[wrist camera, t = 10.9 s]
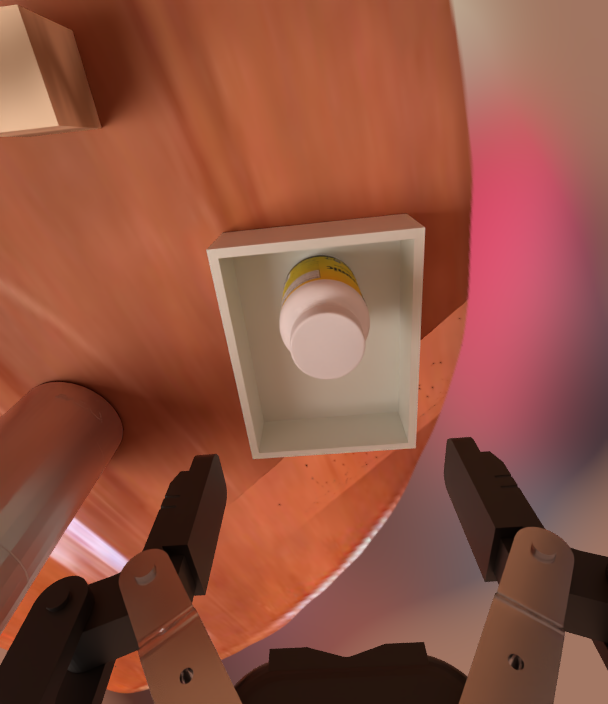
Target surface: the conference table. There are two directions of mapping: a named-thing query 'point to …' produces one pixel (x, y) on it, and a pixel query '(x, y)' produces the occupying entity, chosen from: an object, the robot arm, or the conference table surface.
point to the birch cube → (41, 78)
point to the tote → (275, 359)
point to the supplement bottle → (324, 317)
